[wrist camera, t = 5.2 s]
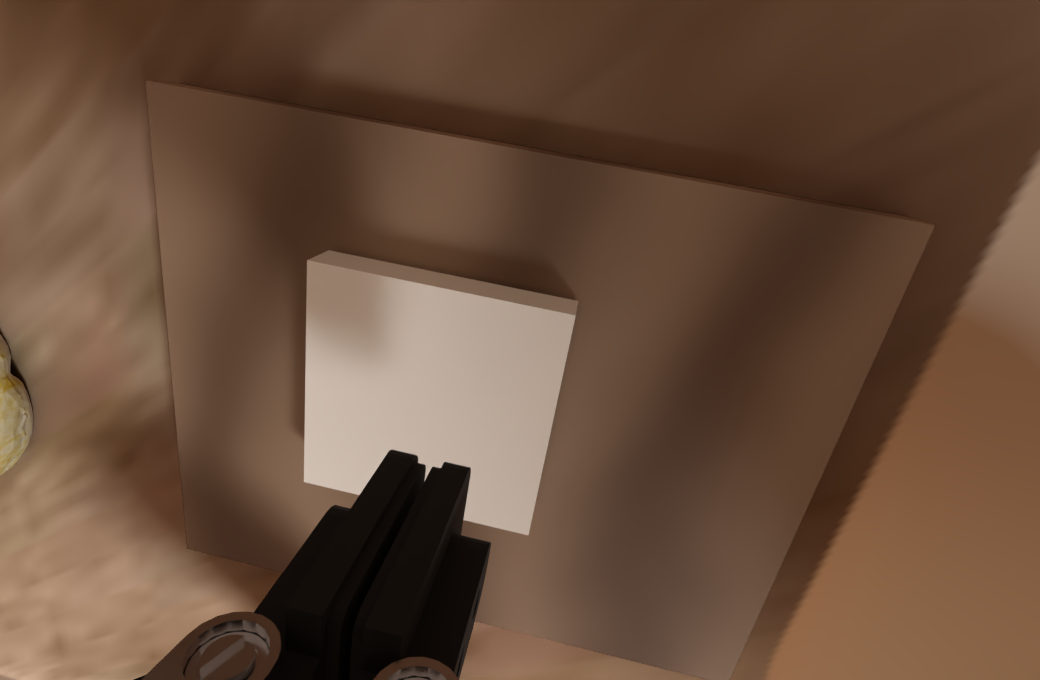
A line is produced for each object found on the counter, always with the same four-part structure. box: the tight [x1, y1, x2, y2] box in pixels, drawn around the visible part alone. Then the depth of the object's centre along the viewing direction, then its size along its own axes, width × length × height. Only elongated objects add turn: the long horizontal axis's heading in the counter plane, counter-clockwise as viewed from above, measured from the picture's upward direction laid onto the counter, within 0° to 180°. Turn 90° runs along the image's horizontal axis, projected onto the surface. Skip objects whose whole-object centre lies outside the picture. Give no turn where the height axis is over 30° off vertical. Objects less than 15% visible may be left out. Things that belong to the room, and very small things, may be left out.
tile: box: [304, 250, 578, 535], centre depth 16 cm, size 1×7×7 cm
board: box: [145, 80, 935, 680], centre depth 17 cm, size 20×16×1 cm
